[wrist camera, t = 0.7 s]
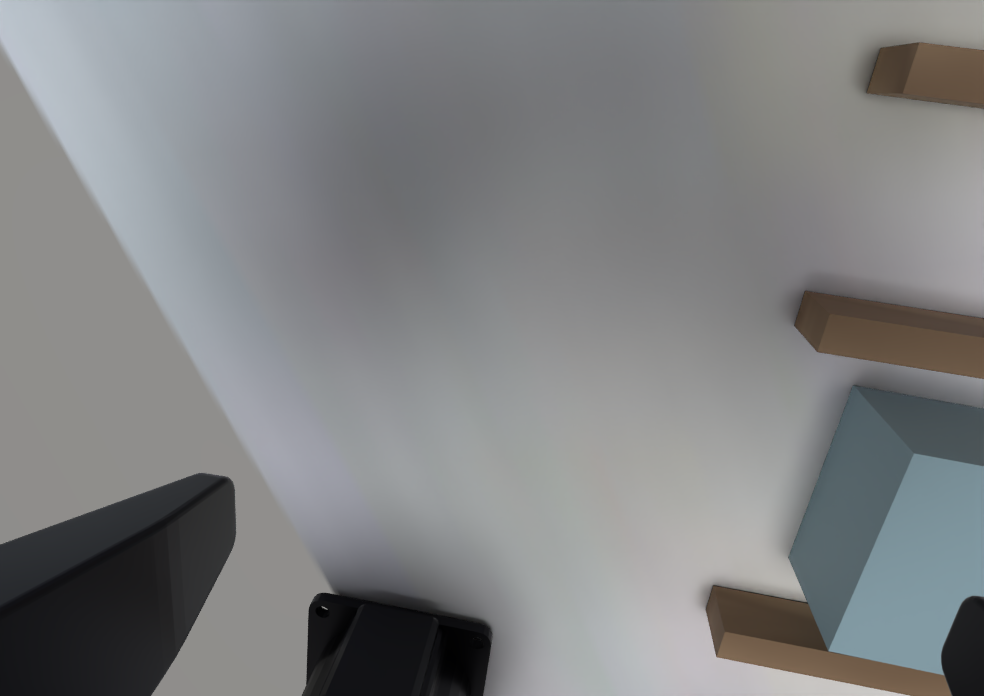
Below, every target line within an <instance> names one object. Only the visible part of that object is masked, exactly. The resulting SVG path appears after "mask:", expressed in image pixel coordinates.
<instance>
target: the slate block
mask: <svg viewBox="0 0 984 696" xmlns="http://www.w3.org/2000/svg"><path fill="white" fill-rule="evenodd" d="M788 558H789V560H790V562H791V565H792V567H793V569H794V572H795V574H796V576H797V579H798V581H799V583H800V586H801V588H802V591H803V593H804V595H805V598H806V600H807V602H808V605H809V607H810V609H811V612H812V614H813V616H814V619H815V621H816V623H817V626H818V628H819V631H820V633H821V635H822V638H823V640H824V642H825V645H826V647H827V649H828V651H830V652H835V653H840V654H844V655H849V656H854V657H859V658H864V659H869V660H873V661H878V662H883V663H888V664H893V665H897V666H902V667H907V668H912V669H917V670H921V671H926V672H931V673H936V674H941V675H944V674H943V670H942V665H941V652H942V648H943V645H944V642H945V640H946V638H947V635H948V633H949V631H950V628H951V626H952V623H953V621H954V619H955V616H956V614H957V612H958V609H959V607H960V605H961V603H962V601H964V600H965V599H966V598H967V597H970V596H982V597H984V409H983V408H978V407H972V406H966V405H961V404H955V403H950V402H944V401H938V400H933V399H927V398H922V397H916V396H910V395H905V394H899V393H894V392H888V391H882V390H877V389H871V388H866V387H860V386H854V385H853V387H852V390H851V393H850V395H849V398H848V401H847V403H846V406H845V409H844V411H843V414H842V417H841V419H840V422H839V425H838V427H837V430H836V432H835V435H834V438H833V440H832V443H831V446H830V448H829V451H828V454H827V456H826V459H825V462H824V464H823V467H822V470H821V472H820V475H819V478H818V480H817V483H816V486H815V488H814V491H813V493H812V496H811V499H810V501H809V504H808V507H807V509H806V512H805V515H804V517H803V520H802V523H801V525H800V528H799V531H798V533H797V536H796V539H795V541H794V544H793V547H792V549H791V552H790V555H789V557H788Z"/></svg>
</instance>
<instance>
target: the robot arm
mask: <svg viewBox="0 0 984 696" xmlns="http://www.w3.org/2000/svg"><path fill="white" fill-rule="evenodd" d="M235 537H236V514H235V489H234V484H233V481H231V479H230V478H228V477H225V476H219V475H213V474H206V473H198V474H195V475H192V476H189V477H186V478H184V479H181V480H178V481H175V482H172V483H170V484H167V485H164V486H161V487H159V488H156V489H153V490H151V491H147V492H145V493H142V494H139V495H136V496H134V497H131V498H128V499H125V500H122V501H120V502H117V503H114V504H111V505H109V506H106V507H103V508H100V509H98V510H95V511H92V512H89V513H86V514H84V515H81V516H78V517H75V518H73V519H70V520H67V521H64V522H62V523H59V524H56V525H53V526H50V527H48V528H45V529H42V530H39V531H37V532H34V533H31V534H28V535H25V536H23V537H20V538H18V539H14V540H12V541H9V542H6V543H4V544H0V696H151V695H152V693H153V692H154V690H155V689H156V687H157V686H158V684H159V683H160V681H161V680H162V678H163V677H164V675H165V674H166V672H167V670H168V669H169V667H170V665H171V664H172V662H173V661H174V659H175V658H176V656H177V654H178V652H179V651H180V648H181V647H182V645H183V643H184V642H185V640H186V638H187V636H188V634H189V632H190V630H191V628H192V626H193V624H194V622H195V620H196V618H197V617H198V615H199V613H200V611H201V609H202V607H203V605H204V603H205V601H206V599H207V597H208V595H209V593H210V591H211V590H212V587H213V586H214V584H215V582H216V580H217V578H218V576H219V574H220V572H221V570H222V568H223V566H224V564H225V563H226V561H227V559H228V557H229V555H230V553H231V551H232V548H233V545H234V542H235ZM321 606H323V607H325V608H327V609H328V610H326V609H323V608H322V607H321ZM474 638H480V639H482V640H476V639H474ZM492 638H493V637H492V632H491V630H490V629H489V628H488V627H487V626H485V625H483V624H480V623H475V622H470V621H465V620H460V619H455V618H450V617H445V616H440V615H435V614H430V613H425V612H420V611H415V610H410V609H405V608H400V607H395V606H390V605H385V604H380V603H375V602H370V601H365V600H360V599H355V598H350V597H345V596H340V595H335V594H330V593H320V594H317V595H316V596H315V597H314V599H313V601H312V602H311V604H310V607H309V618H308V649H307V682H306V687H305V690H304V692H303V694H302V696H483V692H484V686H485V680H486V674H487V668H488V662H489V656H490V650H491V644H492ZM941 665H942V670H943V674H944V676H945V679H946V682H947V685H948V687H949V690H950V693H951V695H952V696H984V597H982V596H970V597H967V598H966V599H965V600H964V601H962V603H961V605H960V607H959V609H958V612H957V614H956V616H955V619H954V621H953V623H952V626H951V628H950V631H949V633H948V635H947V638H946V640H945V642H944V645H943V648H942V652H941Z"/></svg>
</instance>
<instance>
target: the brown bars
mask: <svg viewBox="0 0 984 696" xmlns="http://www.w3.org/2000/svg"><path fill="white" fill-rule="evenodd" d="M867 93H869V94H877V95H884V96H892V97H900V98H907V99H915V100H922V101H930V102H938V103H945V104H953V105H960V106H968V107H976V108H983V109H984V50H976V49H968V48H960V47H952V46H944V45H936V44H928V43H920V42H919V43H912V44H905V45H899V46H892V47H885V48H881V49H880V52H879V55H878V59H877V62H876V65H875V68H874V72H873V75H872V78H871V81H870V84H869V88H868V91H867ZM794 326H795V327H796V328H797V329H798V331H799V332H800V333H801V334H802V335H803V336H804V337H805V338H806V340H807V341H808V342H809V343H810V344H811V345H812V346H813V348H814V349H815V350H816V351H817V352H821V353H827V354H833V355H839V356H845V357H852V358H858V359H864V360H870V361H876V362H883V363H889V364H895V365H901V366H907V367H913V368H920V369H926V370H932V371H938V372H944V373H951V374H957V375H963V376H969V377H975V378H982V379H984V319H983V318H977V317H970V316H964V315H957V314H951V313H944V312H938V311H931V310H925V309H919V308H912V307H906V306H899V305H893V304H886V303H880V302H873V301H867V300H860V299H854V298H848V297H841V296H835V295H828V294H822V293H815V292H809V291H805V293H804V296H803V299H802V303H801V306H800V309H799V312H798V315H797V319H796V322H795V325H794ZM706 613H707V617H708V622H709V626H710V630H711V635H712V639H713V644H714V648H715V652H716V657H719V658H724V659H729V660H734V661H739V662H744V663H749V664H754V665H759V666H764V667H769V668H774V669H779V670H784V671H789V672H794V673H799V674H804V675H809V676H814V677H819V678H824V679H830V680H835V681H840V682H845V683H850V684H855V685H860V686H865V687H870V688H875V689H880V690H885V691H890V692H895V693H900V694H905V695H910V696H952V695H951V693H950V690H949V687H948V685H947V682H946V679H945V676H944V675H941V674H936V673H931V672H926V671H921V670H917V669H912V668H907V667H902V666H897V665H893V664H888V663H883V662H878V661H873V660H869V659H864V658H859V657H854V656H849V655H844V654H840V653H835V652H830V651H828V649H827V647H826V645H825V642H824V640H823V638H822V635H821V633H820V631H819V628H818V626H817V623H816V621H815V619H814V616H813V614H812V612H811V609H810V607H809V605H808V604H807V603H802V602H797V601H791V600H786V599H781V598H776V597H770V596H765V595H760V594H755V593H749V592H744V591H739V590H734V589H728V588H723V587H718V586H713V588H712V591H711V595H710V598H709V601H708V604H707V608H706Z"/></svg>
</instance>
